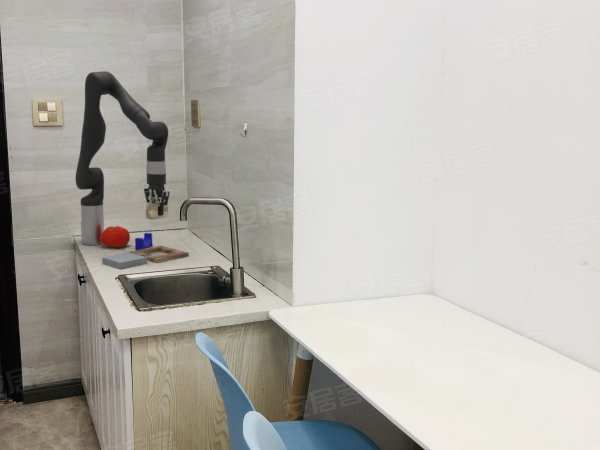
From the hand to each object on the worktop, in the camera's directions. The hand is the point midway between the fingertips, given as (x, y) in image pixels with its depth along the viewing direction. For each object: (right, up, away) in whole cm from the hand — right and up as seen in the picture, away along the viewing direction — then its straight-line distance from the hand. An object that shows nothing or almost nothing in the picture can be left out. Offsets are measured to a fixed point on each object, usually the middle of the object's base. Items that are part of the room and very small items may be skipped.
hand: (157, 214), depth 251 cm
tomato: (-22, -14, +17) cm, 31 cm away
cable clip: (-10, -15, +15) cm, 23 cm away
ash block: (0, -1, 0) cm, 1 cm away
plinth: (-10, -19, -10) cm, 24 cm away
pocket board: (0, -17, +4) cm, 17 cm away
